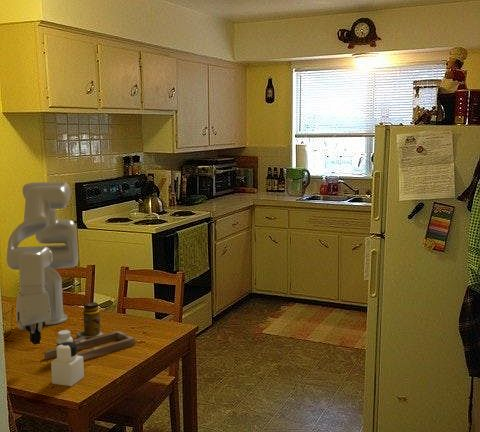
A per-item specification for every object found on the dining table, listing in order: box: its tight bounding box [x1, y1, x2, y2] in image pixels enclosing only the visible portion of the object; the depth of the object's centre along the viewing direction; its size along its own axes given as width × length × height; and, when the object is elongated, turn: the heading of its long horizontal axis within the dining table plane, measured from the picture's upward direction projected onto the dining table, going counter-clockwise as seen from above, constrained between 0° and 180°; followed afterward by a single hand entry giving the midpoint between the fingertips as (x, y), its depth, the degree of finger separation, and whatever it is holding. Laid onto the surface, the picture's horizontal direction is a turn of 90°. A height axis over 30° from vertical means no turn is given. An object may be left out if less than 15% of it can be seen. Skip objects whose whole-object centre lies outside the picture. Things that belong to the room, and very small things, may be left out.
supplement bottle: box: [55, 329, 74, 347], centre depth 189 cm, size 5×5×10 cm
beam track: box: [43, 330, 136, 362], centre depth 197 cm, size 14×30×3 cm, turn 134°
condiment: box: [76, 301, 104, 339], centre depth 212 cm, size 7×8×12 cm
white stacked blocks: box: [50, 342, 85, 387], centre depth 172 cm, size 7×7×12 cm
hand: (35, 343), depth 181 cm, fingers closed
